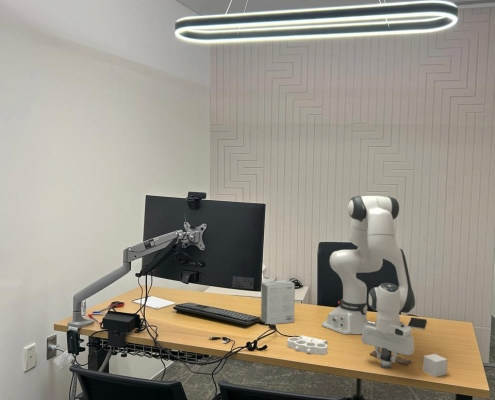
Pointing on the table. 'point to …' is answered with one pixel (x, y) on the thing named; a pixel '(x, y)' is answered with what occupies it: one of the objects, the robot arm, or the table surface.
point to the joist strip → (398, 359)
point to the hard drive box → (277, 302)
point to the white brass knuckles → (308, 345)
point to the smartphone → (417, 323)
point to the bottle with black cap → (385, 358)
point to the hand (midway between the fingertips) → (386, 359)
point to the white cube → (435, 365)
